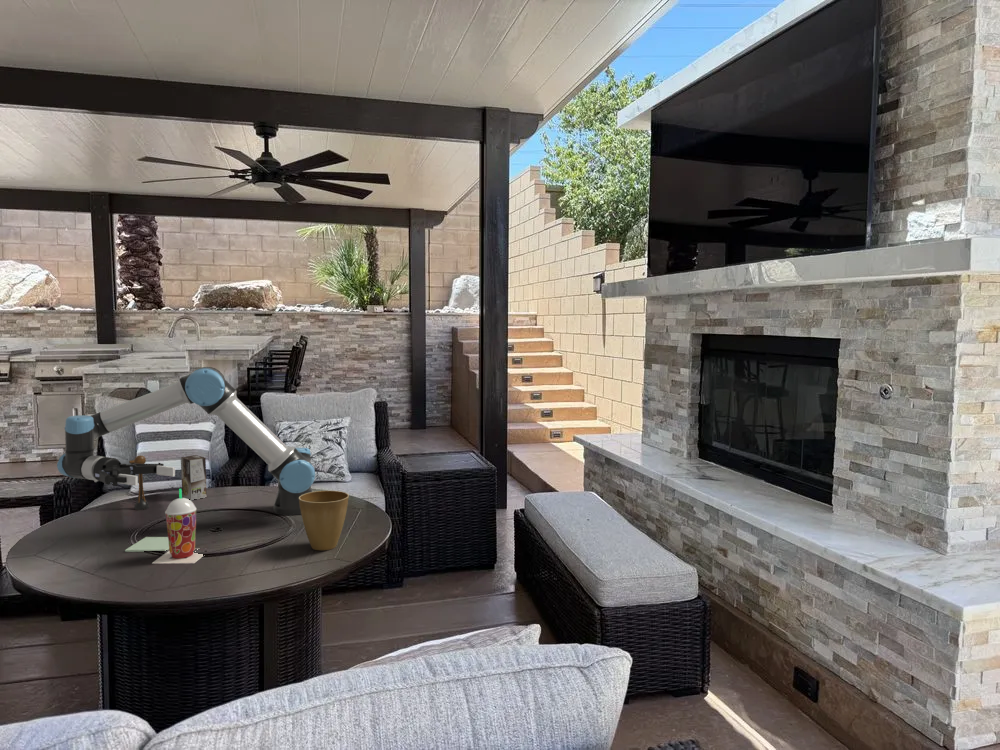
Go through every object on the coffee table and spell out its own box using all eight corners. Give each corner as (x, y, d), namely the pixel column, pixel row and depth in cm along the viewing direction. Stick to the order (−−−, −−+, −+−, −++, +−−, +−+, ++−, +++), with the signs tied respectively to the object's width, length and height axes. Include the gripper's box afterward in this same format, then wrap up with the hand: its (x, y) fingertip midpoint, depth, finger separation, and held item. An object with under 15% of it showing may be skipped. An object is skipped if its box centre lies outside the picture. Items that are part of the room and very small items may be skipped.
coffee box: (207, 497, 260) (206, 457, 259) (190, 501, 255) (189, 460, 254) (197, 493, 266) (196, 454, 265) (181, 496, 262) (180, 456, 260)
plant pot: (331, 557, 194) (330, 504, 193) (289, 551, 199) (288, 499, 198) (358, 542, 208) (358, 492, 206) (319, 536, 213) (318, 488, 212)
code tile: (211, 549, 201) (211, 548, 201) (194, 563, 189) (194, 562, 189) (171, 549, 200) (171, 548, 200) (151, 563, 188) (151, 562, 188)
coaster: (183, 538, 210) (183, 536, 210) (165, 551, 198) (165, 549, 198) (145, 538, 210) (145, 537, 210) (125, 551, 198) (125, 549, 198)
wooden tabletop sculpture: (133, 511, 241) (130, 457, 239) (129, 508, 244) (127, 455, 243) (150, 508, 245) (148, 455, 243) (147, 505, 248) (145, 453, 247)
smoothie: (173, 550, 198) (171, 485, 197) (202, 550, 199) (200, 485, 197) (161, 560, 190) (159, 492, 188) (191, 560, 191) (189, 492, 189)
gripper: (136, 473, 215) (188, 480, 208) (64, 489, 192) (119, 498, 185) (136, 450, 215) (188, 457, 208) (64, 464, 191) (119, 471, 184)
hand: (156, 476), depth 196 cm, fingers open, 13 cm apart
